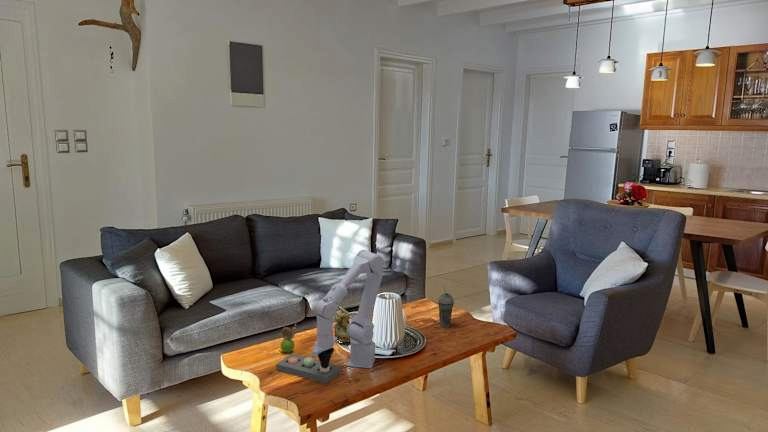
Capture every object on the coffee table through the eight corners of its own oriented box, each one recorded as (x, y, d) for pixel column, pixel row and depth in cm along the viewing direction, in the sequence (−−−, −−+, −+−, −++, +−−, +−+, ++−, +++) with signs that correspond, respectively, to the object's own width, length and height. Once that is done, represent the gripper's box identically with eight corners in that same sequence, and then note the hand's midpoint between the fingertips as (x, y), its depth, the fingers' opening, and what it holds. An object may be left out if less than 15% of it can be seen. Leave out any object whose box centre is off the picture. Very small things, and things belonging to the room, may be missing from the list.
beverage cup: (453, 329, 244) (455, 287, 240) (437, 328, 244) (439, 286, 240) (451, 323, 251) (454, 282, 247) (436, 322, 251) (438, 281, 247)
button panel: (340, 372, 201) (340, 365, 201) (326, 383, 192) (326, 377, 192) (292, 359, 210) (291, 353, 210) (276, 370, 201) (276, 364, 201)
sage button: (315, 365, 202) (315, 358, 201) (310, 369, 198) (310, 362, 198) (307, 363, 203) (307, 356, 203) (301, 367, 200) (301, 360, 199)
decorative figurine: (331, 337, 232) (331, 304, 229) (348, 334, 235) (349, 301, 232) (339, 346, 223) (339, 312, 220) (357, 343, 227) (358, 309, 224)
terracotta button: (299, 365, 205) (299, 358, 204) (294, 369, 202) (294, 361, 201) (291, 363, 206) (291, 356, 206) (286, 367, 203) (286, 359, 203)
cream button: (331, 373, 199) (331, 366, 198) (326, 377, 196) (326, 370, 195) (323, 371, 201) (323, 364, 200) (317, 375, 197) (317, 368, 197)
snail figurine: (293, 355, 214) (293, 327, 211) (278, 353, 215) (278, 325, 213) (298, 349, 219) (298, 322, 217) (283, 348, 220) (283, 320, 218)
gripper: (325, 323, 203) (325, 357, 206) (304, 337, 190) (304, 373, 193) (342, 327, 200) (341, 361, 203) (321, 341, 187) (321, 377, 190)
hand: (324, 367), depth 198 cm, fingers closed, pressing on cream button
